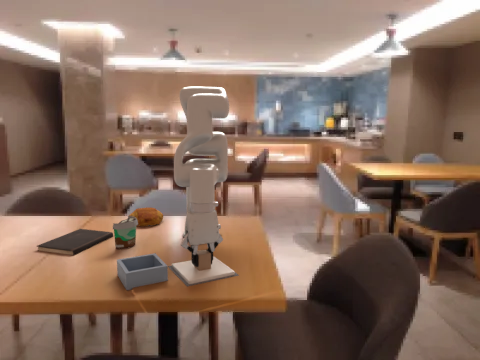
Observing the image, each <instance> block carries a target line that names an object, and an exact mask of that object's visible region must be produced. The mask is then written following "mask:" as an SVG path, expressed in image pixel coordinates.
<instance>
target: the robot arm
mask: <svg viewBox="0 0 480 360" xmlns="http://www.w3.org/2000/svg"><path fill="white" fill-rule="evenodd" d="M179 103H180V105H181V109H182V111H183V113H184V116H185V120H186V136H185V137H184V138H183V139H182V140H181V141H180V142H179V144H178V146H177V147H176V149H175V152H174V157H173V179H174V182H175V185H177V186H179V187H181V188H185V190H186V191H185V192H186V193H185V194H186V198H185V199H186V216H185V222H184V223H185V224H184V231H182V235H183V237H184V238H183V240H182V241H181V243H180V247H182V248H183V249H185V250H187V251H189V252H190V253H191V254H190V255H191V260H192V264H193V265H194V266H196V267H198V254H197V251H198V250H199V249H198V248H199V245H201V246H202V245H205V244H206V246H207V249H206V250H207V251H208V252H210V253H211V264H212V260H213V256H214V252H215V251H216V248H217V247H218V246H219V244H221V243H222V242H223V241H224V238H223V237H222V235H221V233H220V230H221V228H222V226H221V224H220V223H219V218H218V214H217V213H218V212H217V210H216V207H219V202H218V201H216V200H215V185H216V184H217V183H223V182H226V180H227V178H228V173H229V170H228V169H229V166H228V163H229V162H228V161H229V160H228V158H229V155H228V153H229V152H228V151H229V149H228V148H229V147H228V146H229V145H228V144H229V143H228V138H227V135H226V134H225V133H224V132H222V131H213V119H226V118H227V117H228V115H229V114H230V101H229V97H228V94H227V91H226V89H225V88H223V87H219V86H218V87H217V86H185V87H182V88H181V89H180V90H179ZM187 153H189V155H192V156H203V157H204V156H205V157H207V156H210V157H211V156H214V157H216V158H191V159H189V160H187V161H186V162H185V163H183V160H184V156H185V154H187Z"/></svg>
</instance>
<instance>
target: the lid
mask: <svg viewBox="0 0 480 360" xmlns="http://www.w3.org/2000/svg"><path fill="white" fill-rule="evenodd" d="M197 254H198V267H196V266H194V265H193V264H192V259H191V260H186V261H181V262H180V261H179V262H175V263H171V266H172V268H173V269H174V270H175V271H176V272H177V273H178V274H179V275H180V276H181V277H182V278H183V279H184V280H185V281H186V282H187V283H188V284H193V283H198V282H203V281H208V280H212V279H217V278H222V277H226V276H231V275H235V270H233V269H232V268H231V267H230V266H228V265H227V264H226V263H224V262H222V261H221V260H220V259H219V258H217V257H216V256H214V255H213V260H212V264H211V253H210V252H208V251H207V249H200V250H197Z"/></svg>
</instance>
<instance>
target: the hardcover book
mask: <svg viewBox="0 0 480 360" xmlns="http://www.w3.org/2000/svg"><path fill="white" fill-rule="evenodd" d="M113 237H114V232H112V231H103V230H95V229H87V228H86V229H85V228H78V229H76V230H74V231H71V232H68V233H65V234H63V235H61V236H58V237H56V238H53V239H51V240H48V241H45V242H43V243H40V244H37V245H36V248H37V250H38V251H40V252H49V253H55V254H61V255H62V254H64V255H70V256H75V255H77V254H80V253H82V252H84V251H86V250H88V249H90V248H92V247H94V246H97V245H99V244H100V243H103V242H105V241H107V240H109V239H111V238H113Z"/></svg>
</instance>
